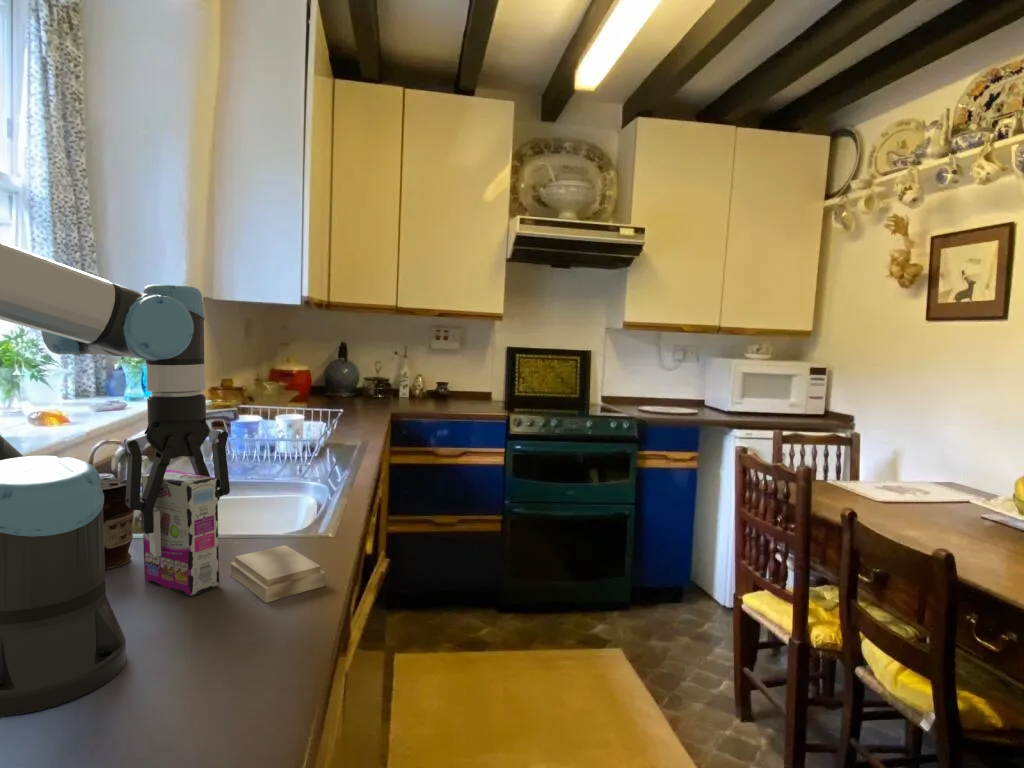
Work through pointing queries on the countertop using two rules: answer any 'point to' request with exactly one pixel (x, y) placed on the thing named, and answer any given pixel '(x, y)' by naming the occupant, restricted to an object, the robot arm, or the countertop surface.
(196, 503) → the candy bar box
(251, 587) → the plinth
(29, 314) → the robot arm
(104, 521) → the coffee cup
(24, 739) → the countertop surface
